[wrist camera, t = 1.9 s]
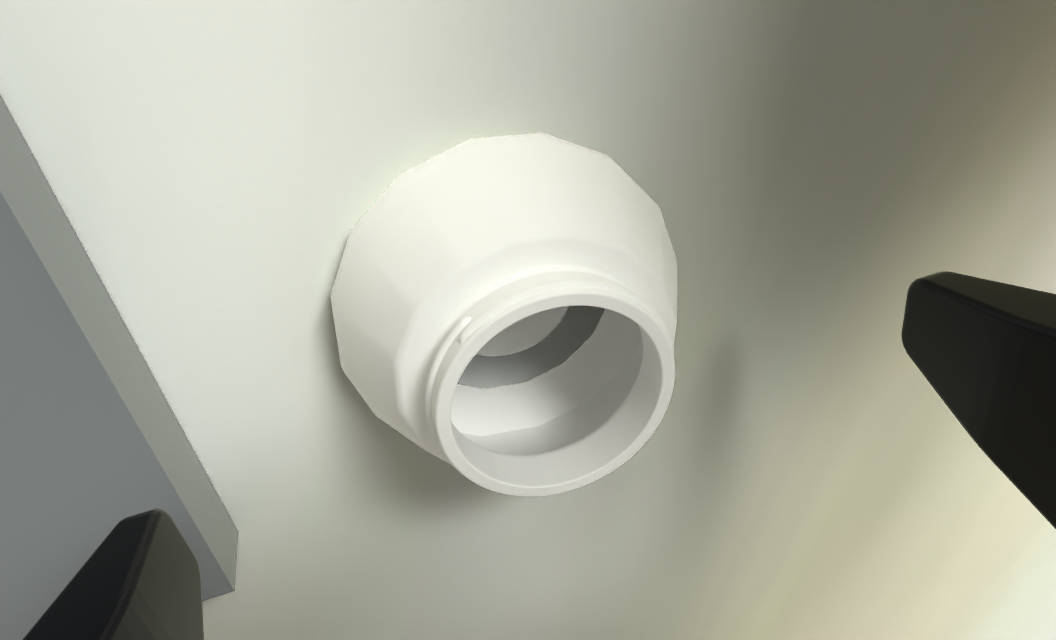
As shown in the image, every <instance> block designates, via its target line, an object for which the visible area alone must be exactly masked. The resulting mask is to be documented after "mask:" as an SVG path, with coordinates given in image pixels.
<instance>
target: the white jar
mask: <svg viewBox="0 0 1056 640" xmlns="http://www.w3.org/2000/svg"><path fill="white" fill-rule="evenodd" d="M677 266H678V262H677V259H676V256H675V253H674V250H673V247H672V243H671V240H670V237H669V234H668V231H667V228H666V225H665V222H664V219H663V216H662V213H661V210H660V207H659V206H658V205H657V204H656V203H655V202H654V201H653V200H652V199H651V198H650V197H649V196H648V195H647V194H646V193H645V192H644V191H643V190H642V189H641V188H640V187H639V186H638V185H637V184H636V183H635V182H634V181H633V180H632V179H631V178H630V177H629V176H628V175H627V174H626V173H625V172H624V171H623V170H622V169H621V168H620V167H619V166H618V165H617V164H616V163H615V162H614V161H613V160H612V159H611V158H610V157H609V156H607V155H606V154H603V153H600V152H597V151H594V150H592V149H589V148H586V147H583V146H580V145H577V144H574V143H571V142H568V141H565V140H562V139H560V138H557V137H554V136H551V135H548V134H545V133H534V134H522V135H510V136H498V137H486V138H474V139H468V140H466V141H464V142H462V143H460V144H458V145H456V146H454V147H452V148H450V149H448V150H446V151H444V152H442V153H440V154H438V155H436V156H434V157H432V158H430V159H428V160H426V161H424V162H422V163H420V164H418V165H416V166H414V167H412V168H410V169H408V170H406V171H404V172H402V173H400V174H399V175H398V176H397V178H396V179H395V180H394V181H393V182H392V183H391V184H390V186H389V187H388V188H387V189H386V190H385V191H384V192H383V194H382V195H381V196H380V197H379V198H378V199H377V200H376V202H375V203H374V204H373V205H372V206H371V207H370V208H369V210H368V211H367V212H366V213H365V214H364V215H363V216H362V218H361V219H360V220H359V221H358V222H357V223H356V224H355V226H354V227H353V228H352V229H351V231H350V234H349V237H348V241H347V244H346V247H345V250H344V253H343V256H342V260H341V263H340V266H339V269H338V272H337V275H336V279H335V282H334V285H333V288H332V291H331V303H332V310H333V317H334V324H335V330H336V337H337V343H338V350H339V356H340V363H341V369H342V370H343V371H344V373H345V374H346V376H347V377H348V378H349V380H350V381H351V382H352V384H353V385H354V387H355V388H356V389H357V391H358V392H359V394H360V395H361V396H362V398H363V399H364V401H365V402H366V403H367V405H368V406H369V407H370V409H371V410H372V412H373V413H374V414H375V416H376V417H378V418H379V419H381V420H382V421H384V422H385V423H386V424H388V425H389V426H391V427H392V428H394V429H395V430H396V431H398V432H399V433H401V434H402V435H404V436H405V437H406V438H408V439H409V440H411V441H412V442H413V443H415V444H416V445H418V446H419V447H421V448H422V449H423V450H425V451H427V452H429V453H430V454H432V455H434V456H436V457H438V458H439V459H441V460H443V461H445V462H447V463H449V464H450V465H452V466H454V467H455V468H456V469H457V470H458V471H459V472H460V473H461V474H462V475H463V476H464V477H466V478H467V479H468V480H470V481H472V482H473V483H475V484H477V485H479V486H481V487H483V488H485V489H488V490H490V491H493V492H497V493H501V494H505V495H511V496H521V497H538V496H548V495H555V494H560V493H564V492H568V491H571V490H574V489H578V488H580V487H583V486H585V485H588V484H590V483H592V482H594V481H597V480H599V479H601V478H602V477H604V476H606V475H608V474H609V473H611V472H612V471H614V470H616V469H617V468H619V467H620V466H621V465H623V464H624V463H625V462H627V461H628V460H629V459H630V458H631V457H632V456H633V455H635V454H636V453H637V452H638V451H639V450H640V449H641V448H642V447H643V446H644V444H645V443H646V442H647V441H648V440H649V439H650V437H651V436H652V435H653V433H654V432H655V430H656V429H657V427H658V426H659V424H660V422H661V421H662V419H663V417H664V415H665V413H666V411H667V408H668V406H669V403H670V400H671V397H672V393H673V389H674V383H675V360H674V342H675V334H676V325H677ZM569 306H593V307H600V308H604V309H605V311H604V313H603V315H602V317H601V319H600V321H599V323H598V325H597V327H596V329H595V331H594V333H593V334H592V335H591V336H590V337H589V338H588V339H587V340H586V341H585V342H584V343H583V344H582V345H581V346H580V347H579V348H578V349H577V350H576V351H575V352H574V353H573V354H572V355H571V356H570V357H569V358H568V359H567V360H566V361H565V362H564V363H563V364H561V365H559V366H557V367H555V368H553V369H551V370H549V371H547V372H545V373H543V374H541V375H539V376H537V377H535V378H533V379H531V380H529V381H527V382H524V383H518V384H512V385H505V386H499V387H493V388H487V389H483V388H477V387H471V386H466V385H460V384H458V382H459V379H460V377H461V375H462V373H463V372H464V370H465V368H466V367H467V365H468V364H469V362H470V361H471V360H472V358H473V357H474V356H475V355H480V356H492V357H494V356H505V355H510V354H514V353H518V352H521V351H523V350H526V349H528V348H530V347H532V346H534V345H535V344H537V343H539V342H540V341H542V340H543V339H544V338H545V337H547V336H548V335H549V334H550V333H551V332H552V331H553V330H554V329H555V328H556V327H557V326H558V324H559V323H560V322H561V320H562V319H563V317H564V316H565V314H566V312H567V310H568V307H569Z"/></svg>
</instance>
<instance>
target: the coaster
mask: <svg viewBox="0 0 1056 640" xmlns="http://www.w3.org/2000/svg"><path fill="white" fill-rule="evenodd" d="M156 508H159V509H163V510H165V511H166V512H167V513H168V514H169V515H170V516H171V518H172V519H173V521H174V523H175V524H176V526H177V527H178V529H179V531H180V532H181V534H182V536H183V537H184V539H185V541H186V542H187V544H188V546H189V547H190V549H191V550H192V552H193V554H194V556H195V557H196V560H197V563H198V566H199V570H200V577H201V593H202V601H204V600H207V599H210V598H213V597H216V596H219V595H223V594H226V593H229V592H232V591H234V589H235V574H236V558H237V543H238V531H237V529H236V527H235V525H234V523H233V521H232V520H231V518H230V516H229V514H228V512H227V510H226V508H225V507H224V505H223V503H222V501H221V499H220V497H219V496H218V494H217V492H216V490H215V488H214V486H213V485H212V483H211V481H210V479H209V477H208V475H207V474H206V472H205V470H204V468H203V466H202V464H201V463H200V461H199V459H198V457H197V455H196V453H195V452H194V450H193V448H192V446H191V444H190V442H189V441H188V439H187V437H186V435H185V433H184V431H183V429H182V428H181V426H180V424H179V422H178V420H177V418H176V417H175V415H174V413H173V411H172V409H171V407H170V406H169V404H168V402H167V400H166V398H165V396H164V395H163V393H162V391H161V389H160V387H159V385H158V384H157V382H156V380H155V378H154V376H153V374H152V373H151V371H150V369H149V367H148V365H147V363H146V362H145V360H144V358H143V356H142V354H141V352H140V351H139V349H138V347H137V345H136V343H135V341H134V339H133V338H132V336H131V334H130V332H129V330H128V328H127V327H126V325H125V323H124V321H123V319H122V317H121V316H120V314H119V312H118V310H117V308H116V306H115V305H114V303H113V301H112V299H111V297H110V295H109V294H108V292H107V290H106V288H105V286H104V284H103V283H102V281H101V279H100V277H99V275H98V273H97V272H96V270H95V268H94V266H93V264H92V262H91V260H90V259H89V257H88V255H87V253H86V251H85V249H84V248H83V246H82V244H81V242H80V240H79V238H78V237H77V235H76V233H75V231H74V229H73V227H72V226H71V224H70V222H69V220H68V218H67V216H66V215H65V213H64V211H63V209H62V207H61V205H60V204H59V202H58V200H57V198H56V196H55V194H54V193H53V191H52V189H51V187H50V185H49V183H48V182H47V180H46V178H45V176H44V174H43V172H42V170H41V169H40V167H39V165H38V163H37V161H36V159H35V158H34V156H33V154H32V152H31V150H30V148H29V147H28V145H27V143H26V141H25V139H24V137H23V136H22V134H21V132H20V130H19V128H18V126H17V125H16V123H15V121H14V119H13V117H12V115H11V114H10V112H9V110H8V108H7V106H6V104H5V103H4V101H3V99H2V97H1V95H0V640H22V639H23V638H24V637H25V636H26V635H27V633H28V632H29V631H30V630H31V628H32V627H33V626H34V625H35V624H36V622H37V621H38V620H39V619H40V617H41V616H42V615H43V614H44V613H45V611H46V610H47V609H48V608H49V606H50V605H51V604H52V603H53V602H54V600H55V599H56V598H57V597H58V595H59V594H60V593H61V592H62V591H63V589H64V588H65V587H66V586H67V584H68V583H69V582H70V581H71V580H72V578H73V577H74V576H75V575H76V574H77V572H78V571H79V570H80V569H81V567H82V566H83V565H84V564H85V563H86V561H87V560H88V559H89V558H90V556H91V555H92V554H93V553H94V552H95V550H96V549H97V548H98V547H99V545H100V544H101V543H102V542H103V541H104V539H105V538H106V537H107V536H108V534H109V533H110V532H111V531H112V530H113V528H114V527H115V526H116V525H117V524H118V523H119V522H120V521H121V520H122V519H124V518H126V517H129V516H132V515H136V514H139V513H142V512H146V511H149V510H152V509H156Z"/></svg>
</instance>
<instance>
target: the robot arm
mask: <svg viewBox="0 0 1056 640" xmlns="http://www.w3.org/2000/svg"><path fill="white" fill-rule="evenodd" d="M902 342H903V345H904V348H905V350H906V352H907V354H908V355H909V357H910V358H911V359H912V360H913V362H914V363H915V364H916V366H917V367H918V368H919V370H920V371H921V372H922V374H923V375H924V376H925V377H926V379H927V380H928V381H929V383H930V384H931V385H932V387H933V388H934V389H935V391H936V392H937V393H938V394H939V396H940V397H941V398H942V400H943V401H944V402H945V404H946V405H947V406H948V408H949V409H950V410H951V411H952V413H953V414H954V415H955V417H956V418H957V419H958V421H959V422H960V423H961V425H962V426H963V427H964V428H965V430H966V431H967V432H968V434H969V435H970V436H971V437H972V438H973V440H974V441H975V442H976V443H977V445H978V446H979V447H980V448H981V449H982V450H983V452H984V453H985V454H986V455H987V456H988V457H989V458H990V459H991V461H992V462H993V463H994V464H995V465H996V466H997V467H998V468H999V469H1000V470H1001V471H1002V472H1003V473H1004V474H1005V476H1006V477H1007V478H1008V479H1009V480H1010V481H1011V482H1012V483H1013V484H1014V485H1015V486H1016V487H1017V488H1018V489H1019V490H1020V492H1021V493H1022V494H1023V495H1024V496H1025V497H1026V498H1027V499H1028V500H1029V501H1030V502H1031V503H1032V504H1033V505H1034V506H1035V508H1036V509H1037V510H1038V511H1039V512H1040V513H1041V514H1042V515H1043V516H1044V517H1045V518H1046V519H1047V520H1048V521H1049V522H1050V524H1051V525H1052V526H1053V527H1054V528H1055V529H1056V294H1052V293H1047V292H1043V291H1038V290H1033V289H1028V288H1024V287H1019V286H1014V285H1010V284H1005V283H1000V282H995V281H991V280H986V279H981V278H976V277H972V276H967V275H962V274H958V273H953V272H939V273H935V274H932V275H928V276H925V277H922V278H919V279H916V280H915V281H913V282H912V284H911V285H910V287H909V289H908V293H907V299H906V306H905V313H904V320H903V327H902ZM22 640H204V632H203V613H202V593H201V577H200V570H199V566H198V563H197V560H196V557H195V556H194V554H193V552H192V550H191V549H190V547H189V546H188V544H187V542H186V541H185V539H184V537H183V536H182V534H181V532H180V531H179V529H178V527H177V526H176V524H175V523H174V521H173V519H172V518H171V516H170V515H169V514H168V513H167V512H166V511H165V510H163V509H159V508H156V509H152V510H149V511H146V512H142V513H139V514H136V515H132V516H129V517H126V518H124V519H122V520H121V521H120V522H119V523H118V524H117V525H116V526H115V527H114V528H113V530H112V531H111V532H110V533H109V534H108V536H107V537H106V538H105V539H104V541H103V542H102V543H101V544H100V545H99V547H98V548H97V549H96V550H95V552H94V553H93V554H92V555H91V556H90V558H89V559H88V560H87V561H86V563H85V564H84V565H83V566H82V567H81V569H80V570H79V571H78V572H77V574H76V575H75V576H74V577H73V578H72V580H71V581H70V582H69V583H68V584H67V586H66V587H65V588H64V589H63V591H62V592H61V593H60V594H59V595H58V597H57V598H56V599H55V600H54V602H53V603H52V604H51V605H50V606H49V608H48V609H47V610H46V611H45V613H44V614H43V615H42V616H41V617H40V619H39V620H38V621H37V622H36V624H35V625H34V626H33V627H32V628H31V630H30V631H29V632H28V633H27V635H26V636H25V637H24V638H23V639H22Z"/></svg>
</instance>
